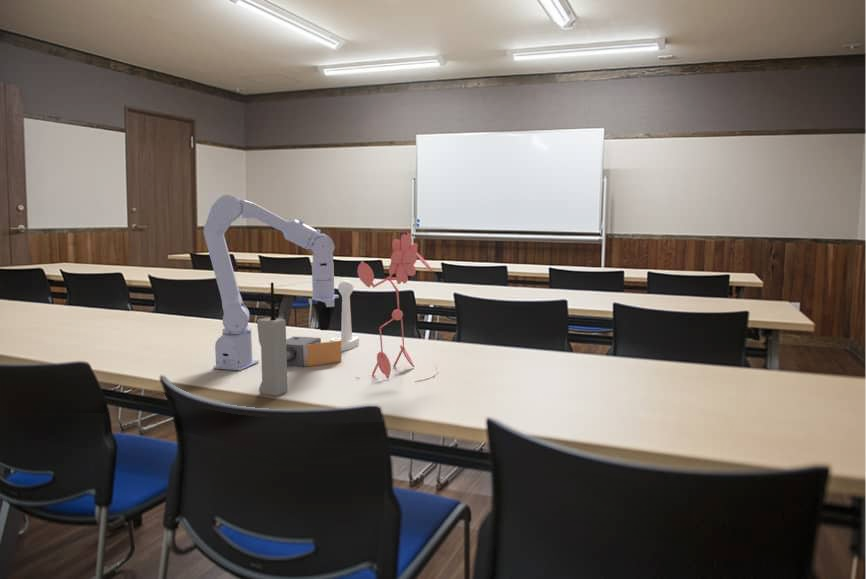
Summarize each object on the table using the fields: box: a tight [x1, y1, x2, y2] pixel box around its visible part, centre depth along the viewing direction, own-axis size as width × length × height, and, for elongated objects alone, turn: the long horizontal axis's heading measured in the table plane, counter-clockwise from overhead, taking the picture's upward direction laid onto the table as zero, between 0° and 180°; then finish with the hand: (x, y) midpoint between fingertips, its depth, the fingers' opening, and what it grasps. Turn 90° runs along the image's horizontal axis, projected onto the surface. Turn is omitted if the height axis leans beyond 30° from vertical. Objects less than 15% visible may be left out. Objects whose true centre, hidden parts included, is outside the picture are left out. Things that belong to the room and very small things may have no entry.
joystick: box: [329, 279, 360, 352], centre depth 189 cm, size 11×8×20 cm
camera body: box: [286, 335, 322, 367], centre depth 173 cm, size 12×8×6 cm
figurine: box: [355, 233, 439, 383], centre depth 158 cm, size 15×26×35 cm, turn 148°
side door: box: [303, 341, 342, 368], centre depth 170 cm, size 10×1×6 cm, turn 124°
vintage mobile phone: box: [256, 282, 289, 397], centre depth 142 cm, size 4×5×25 cm
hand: (324, 329), depth 173 cm, fingers closed
